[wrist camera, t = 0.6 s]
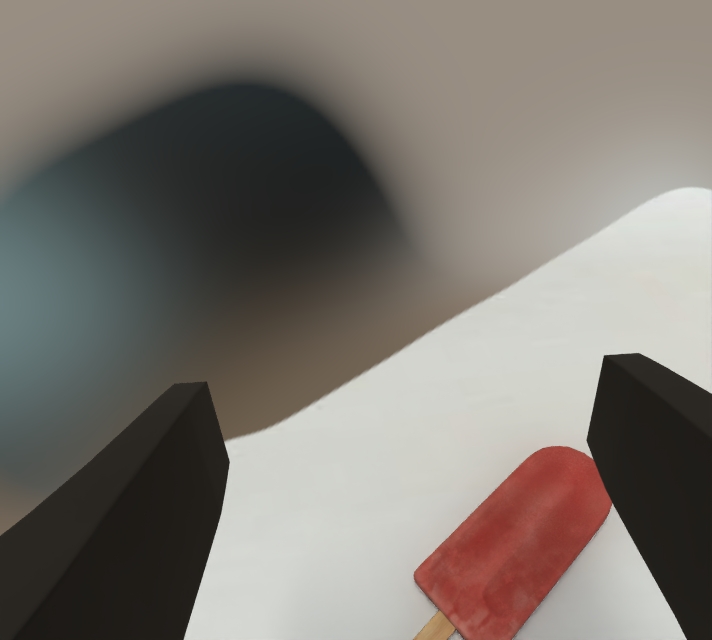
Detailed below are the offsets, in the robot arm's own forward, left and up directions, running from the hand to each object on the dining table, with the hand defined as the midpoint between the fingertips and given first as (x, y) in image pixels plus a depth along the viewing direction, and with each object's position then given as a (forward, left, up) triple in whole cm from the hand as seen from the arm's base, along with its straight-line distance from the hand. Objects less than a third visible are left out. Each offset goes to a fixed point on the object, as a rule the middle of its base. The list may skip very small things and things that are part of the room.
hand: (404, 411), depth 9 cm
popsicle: (0, -2, -18) cm, 18 cm away
